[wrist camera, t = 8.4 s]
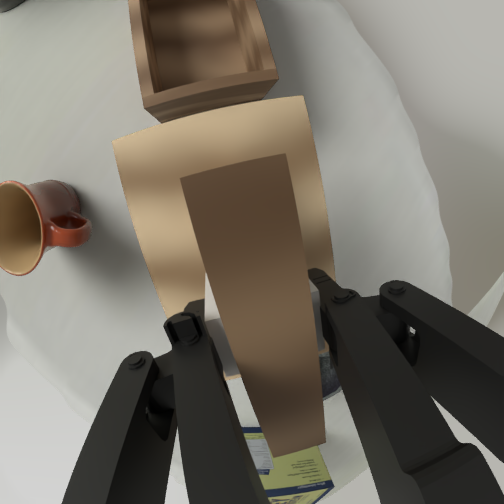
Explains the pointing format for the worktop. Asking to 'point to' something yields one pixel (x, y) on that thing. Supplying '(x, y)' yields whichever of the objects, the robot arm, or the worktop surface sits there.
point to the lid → (241, 244)
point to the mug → (38, 223)
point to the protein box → (289, 471)
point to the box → (199, 55)
